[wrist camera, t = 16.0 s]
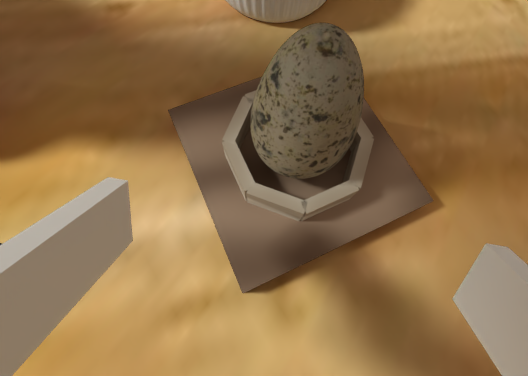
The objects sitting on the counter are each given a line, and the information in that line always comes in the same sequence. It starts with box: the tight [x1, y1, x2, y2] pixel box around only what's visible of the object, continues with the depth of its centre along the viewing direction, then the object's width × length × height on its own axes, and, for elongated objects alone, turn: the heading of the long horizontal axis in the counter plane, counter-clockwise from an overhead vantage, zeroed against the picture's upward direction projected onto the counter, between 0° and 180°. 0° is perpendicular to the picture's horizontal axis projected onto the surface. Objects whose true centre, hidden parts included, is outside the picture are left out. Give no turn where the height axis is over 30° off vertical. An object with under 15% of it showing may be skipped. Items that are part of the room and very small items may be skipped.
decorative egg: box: [251, 23, 364, 179], centre depth 15 cm, size 6×6×10 cm
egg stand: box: [168, 77, 433, 293], centre depth 19 cm, size 14×14×4 cm
